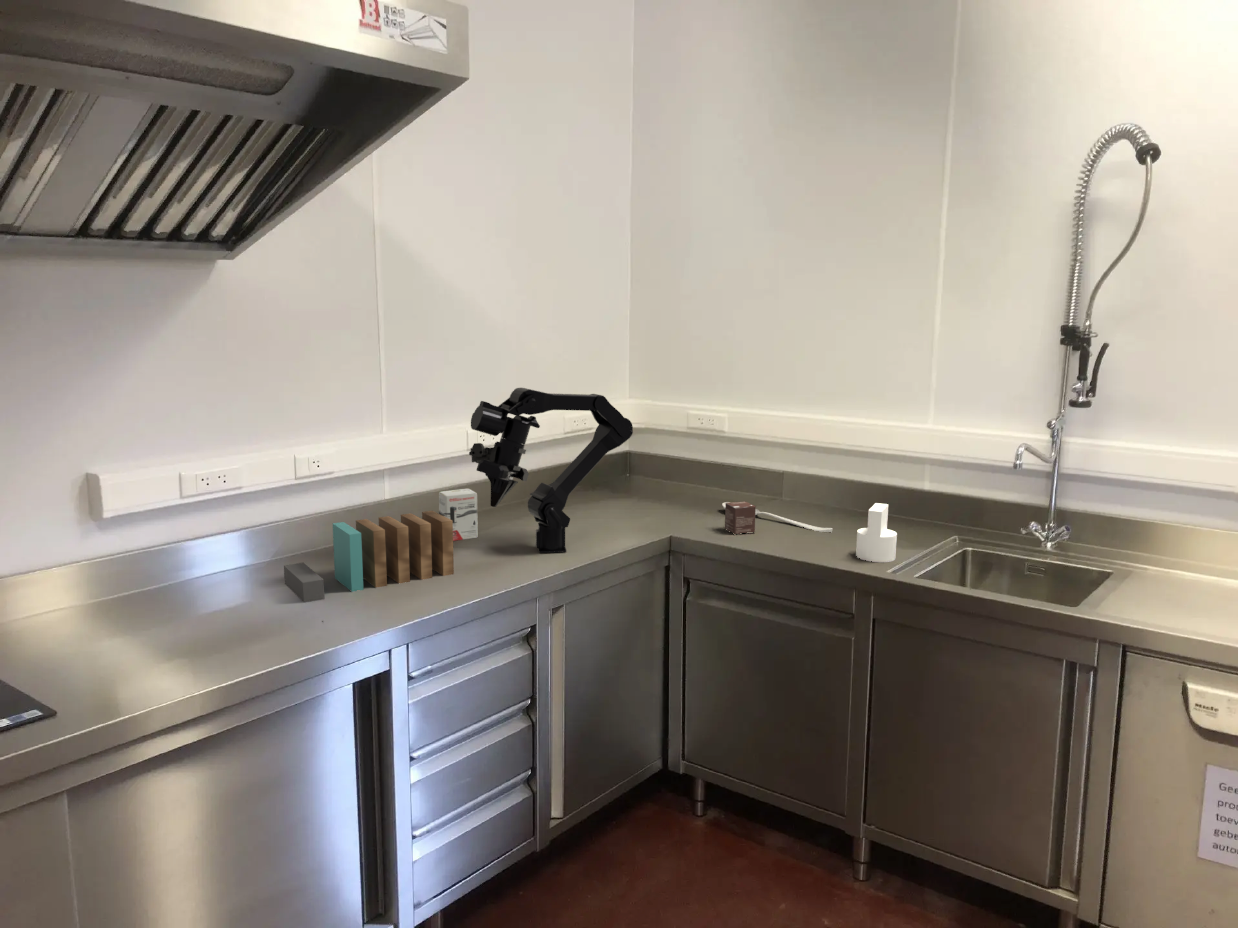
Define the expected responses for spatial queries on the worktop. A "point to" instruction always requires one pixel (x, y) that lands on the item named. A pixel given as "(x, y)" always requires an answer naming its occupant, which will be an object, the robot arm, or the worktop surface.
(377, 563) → the domino
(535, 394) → the robot arm
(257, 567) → the worktop surface
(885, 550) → the cylinder with rectangular tab
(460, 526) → the ink box
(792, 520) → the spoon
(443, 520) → the domino
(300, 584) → the block
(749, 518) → the box
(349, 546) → the domino
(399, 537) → the domino
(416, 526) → the domino
